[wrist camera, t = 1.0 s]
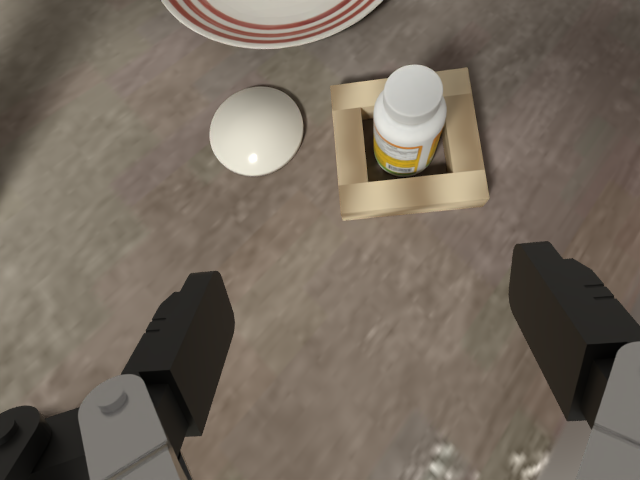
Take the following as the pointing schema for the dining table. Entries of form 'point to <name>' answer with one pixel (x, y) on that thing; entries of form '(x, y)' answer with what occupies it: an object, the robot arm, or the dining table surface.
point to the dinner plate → (268, 20)
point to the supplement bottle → (408, 120)
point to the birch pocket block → (417, 192)
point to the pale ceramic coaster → (256, 131)
